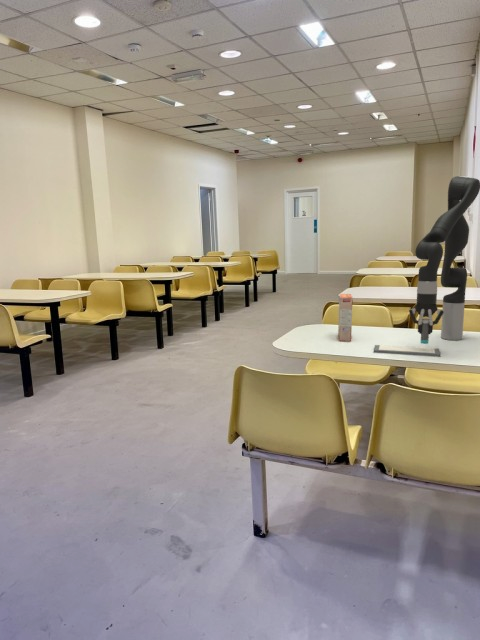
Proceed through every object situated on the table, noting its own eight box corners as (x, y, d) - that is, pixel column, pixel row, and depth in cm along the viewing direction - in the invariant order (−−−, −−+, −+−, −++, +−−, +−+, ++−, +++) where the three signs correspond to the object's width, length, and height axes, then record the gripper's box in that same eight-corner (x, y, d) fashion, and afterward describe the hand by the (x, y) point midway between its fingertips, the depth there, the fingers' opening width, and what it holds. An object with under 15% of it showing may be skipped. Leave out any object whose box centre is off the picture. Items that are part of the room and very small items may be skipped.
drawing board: (375, 347, 206) (375, 344, 206) (438, 350, 197) (439, 348, 197) (373, 352, 197) (373, 349, 197) (440, 356, 188) (440, 353, 188)
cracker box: (352, 341, 218) (353, 297, 214) (338, 341, 219) (339, 297, 215) (350, 335, 231) (351, 293, 228) (338, 335, 232) (338, 293, 229)
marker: (420, 342, 195) (421, 318, 193) (428, 342, 194) (429, 318, 192) (420, 343, 192) (421, 319, 190) (428, 343, 191) (429, 319, 189)
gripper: (445, 291, 191) (442, 332, 194) (408, 290, 195) (406, 331, 198) (446, 293, 184) (443, 336, 187) (408, 292, 188) (406, 334, 191)
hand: (424, 333), depth 192 cm, fingers closed on marker, 3 cm apart
